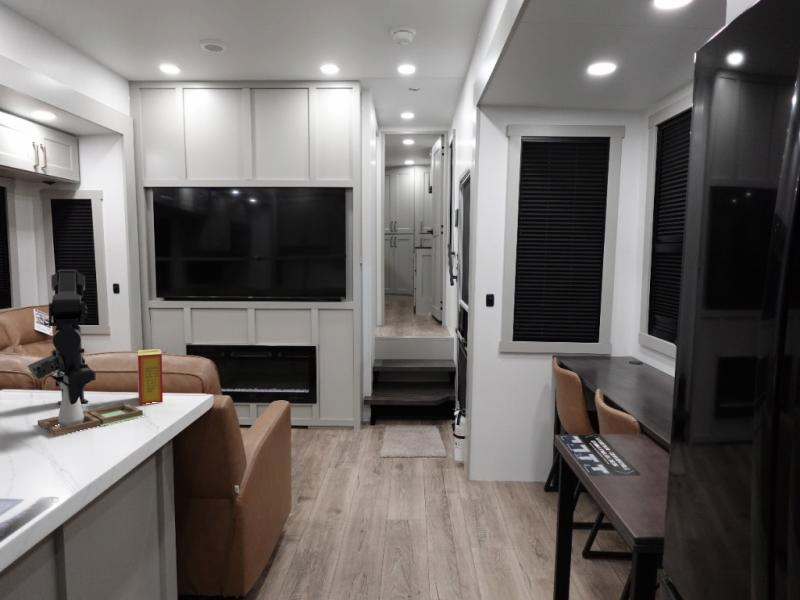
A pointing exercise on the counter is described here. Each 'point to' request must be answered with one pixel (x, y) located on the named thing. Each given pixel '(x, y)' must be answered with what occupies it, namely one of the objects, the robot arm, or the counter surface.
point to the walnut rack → (91, 419)
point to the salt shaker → (69, 410)
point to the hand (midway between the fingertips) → (70, 403)
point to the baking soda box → (150, 376)
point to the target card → (118, 414)
